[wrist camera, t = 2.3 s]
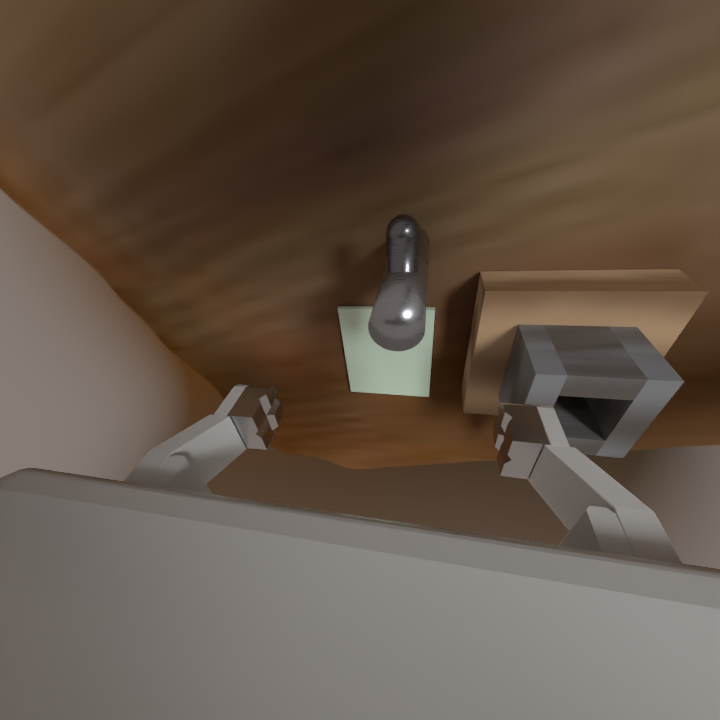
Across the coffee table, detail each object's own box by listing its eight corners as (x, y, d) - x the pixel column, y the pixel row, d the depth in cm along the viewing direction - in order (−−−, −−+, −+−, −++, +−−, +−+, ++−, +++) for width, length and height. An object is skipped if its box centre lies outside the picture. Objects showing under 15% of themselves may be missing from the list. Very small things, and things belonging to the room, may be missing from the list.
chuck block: (480, 271, 22) (496, 336, 16) (678, 269, 20) (783, 344, 14) (458, 402, 31) (464, 476, 25) (593, 412, 29) (635, 496, 23)
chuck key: (390, 186, 20) (360, 246, 12) (432, 183, 19) (429, 244, 11) (393, 293, 25) (373, 386, 17) (426, 293, 24) (422, 389, 16)
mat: (338, 306, 26) (337, 308, 26) (435, 307, 25) (435, 309, 24) (351, 388, 33) (350, 391, 32) (429, 393, 31) (428, 396, 31)
